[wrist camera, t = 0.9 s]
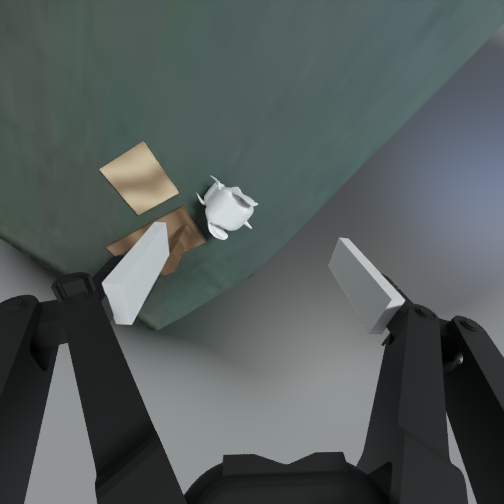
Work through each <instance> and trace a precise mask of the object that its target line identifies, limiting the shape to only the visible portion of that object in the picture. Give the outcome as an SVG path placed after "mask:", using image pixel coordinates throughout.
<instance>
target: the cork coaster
mask: <svg viewBox="0 0 504 504" xmlns="http://www.w3.org/2000/svg"><path fill="white" fill-rule="evenodd" d="M99 170H100V171H101V172H102V173H103V175H104V176H105V177H106V178H107V179H108V180H109V182H110V183H111V184H112V185H113V186H114V187H115V189H116V190H117V191H118V192H119V193H120V195H121V196H122V197H123V198H124V199H125V200H126V202H127V203H128V204H129V205H130V206H131V207H132V209H133V210H134V211H135V212H136V213H137V215H140V214H142V213H144V212H145V211H147V210H149V209H151V208H153V207H154V206H156V205H158V204H160V203H162V202H164V201H165V200H167V199H169V198H171V197H173V196H174V195H176V194H178V193H179V192H178V190H177V189H176V188H175V186H174V185H173V183H172V182H171V180H170V179H169V177H168V176H167V175H166V173H165V172H164V170H163V169H162V167H161V166H160V164H159V163H158V162H157V160H156V159H155V157H154V156H153V154H152V153H151V151H150V150H149V148H148V147H147V146H146V144H145V143H144V142H142V143H140V144H138V145H137V146H135V147H134V148H132V149H131V150H129V151H127V152H126V153H124V154H123V155H121V156H120V157H118V158H117V159H115V160H113V161H112V162H110V163H109V164H107V165H106V166H104V167H102V168H101V169H99Z"/></svg>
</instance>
